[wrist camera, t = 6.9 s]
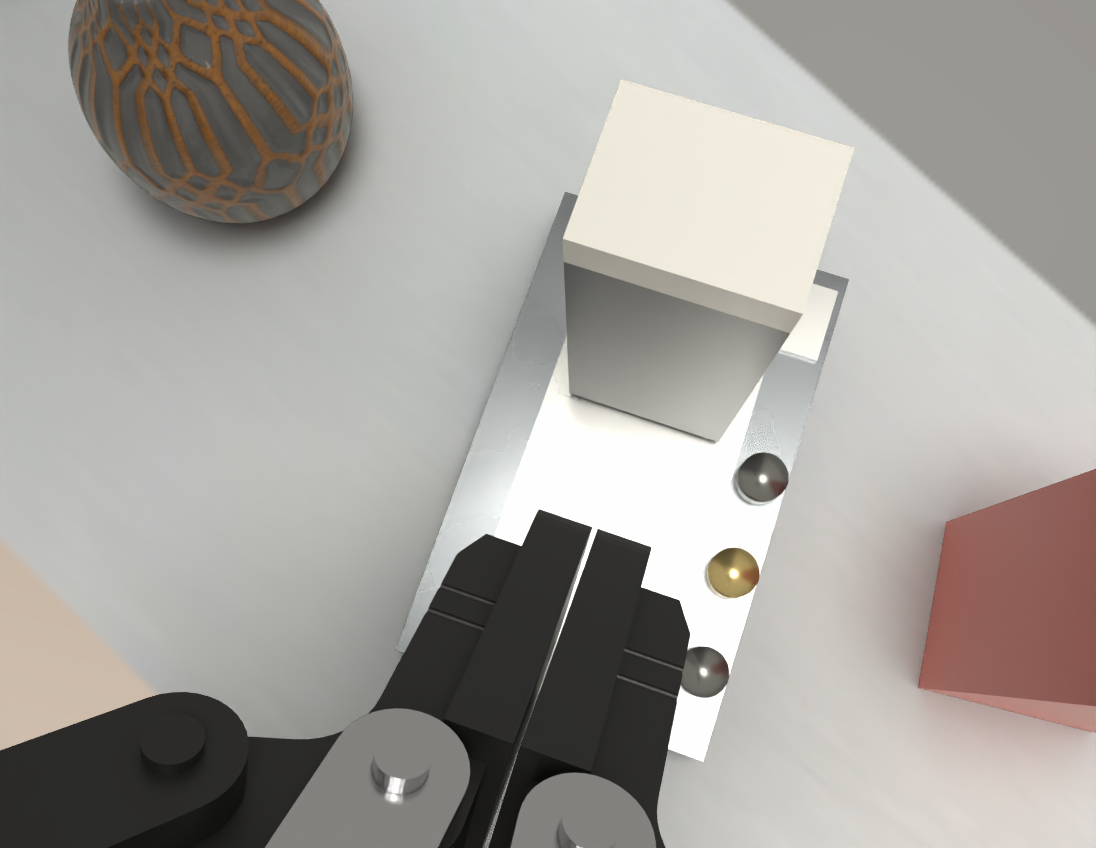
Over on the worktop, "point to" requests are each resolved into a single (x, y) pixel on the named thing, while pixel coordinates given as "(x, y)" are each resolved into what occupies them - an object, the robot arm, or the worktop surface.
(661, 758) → the robot arm
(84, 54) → the vase
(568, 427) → the ball-studded metal plate
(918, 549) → the worktop surface
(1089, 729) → the block
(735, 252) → the block
